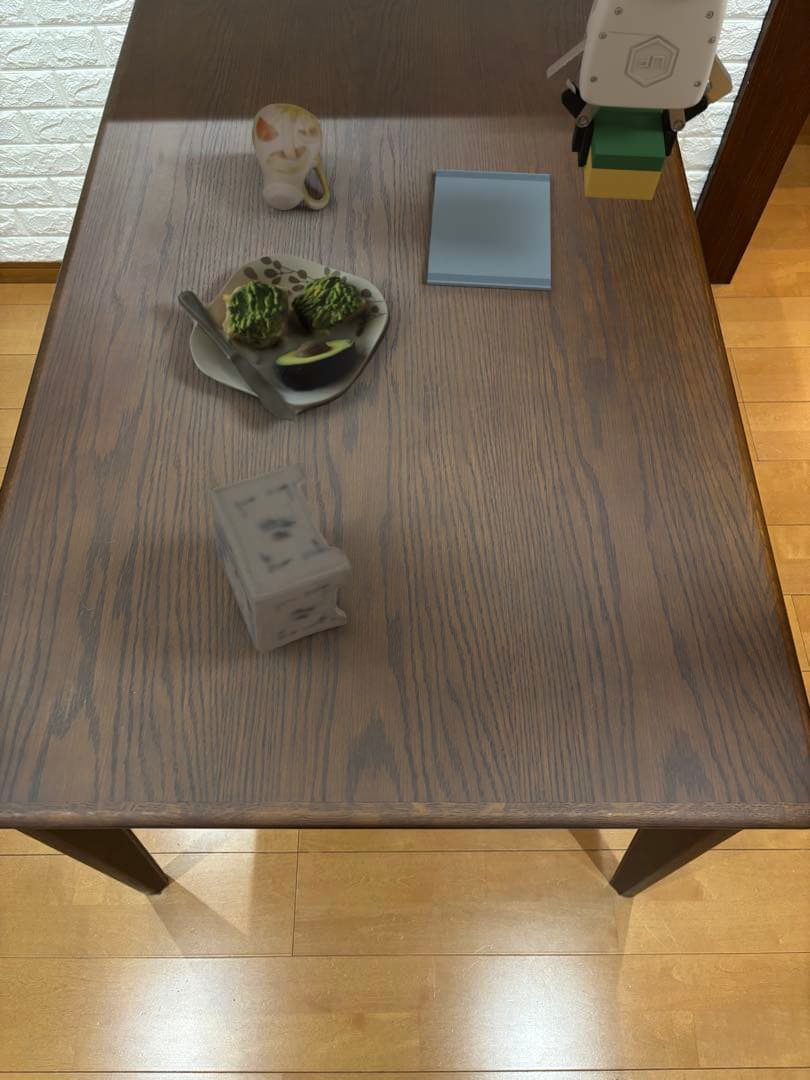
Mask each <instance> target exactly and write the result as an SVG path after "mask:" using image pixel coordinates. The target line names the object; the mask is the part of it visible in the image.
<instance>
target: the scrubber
mask: <svg viewBox="0 0 810 1080" xmlns="http://www.w3.org/2000/svg"><path fill="white" fill-rule="evenodd" d="M661 113H662V109H647V108H625V107H607V106H601V107H600V109H599V110H598V112H597V113H596V115H595V116H594V132H593V137H592V141H591V146H590V150H589V154H588V159H587V163H586V166H584V167H583V177H584V178H583V179H584V180H583V181H584V197H585V198H599V199H601V198H602V199H623V200H642V201H652V200H653V198H654V194H655V192H656V189H657V187H658V186H657V185H658V182H659V180H660V176H661V173H662V170H663V167H664V164H665V161H666V157H667V156H665V146H664V136H663V127H662V117H661Z"/></svg>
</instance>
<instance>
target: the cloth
mask: <svg viewBox="0 0 810 1080" xmlns="http://www.w3.org/2000/svg"><path fill="white" fill-rule="evenodd" d="M434 180H435V181H434V190H433V191H434V193H433V202H432V203H433V204H432V215H431V229H430V241H429V252H428V264H427V274H426V275H427V277H426V285H428V286H429V285H431V286H447V287H448V286H451V287H467V288H468V287H469V288H486V289H489V288H490V289H507V290H508V289H510V290H529V291H546V292H547V291H549V292H551V289H552V272H551V271H552V270H551V269H552V267H551V266H552V265H551V264H552V263H551V261H552V257H551V256H552V255H551V253H552V252H551V251H552V250H551V249H552V248H551V174H550V173H529V172H512V171H511V172H509V171H489V170H486V171H485V170H466V169H465V170H464V169H441V168H436V170H435V179H434Z"/></svg>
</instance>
